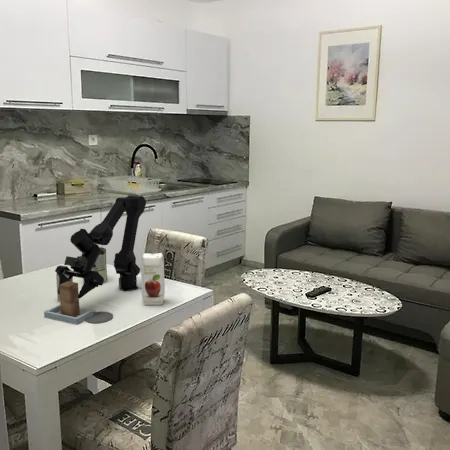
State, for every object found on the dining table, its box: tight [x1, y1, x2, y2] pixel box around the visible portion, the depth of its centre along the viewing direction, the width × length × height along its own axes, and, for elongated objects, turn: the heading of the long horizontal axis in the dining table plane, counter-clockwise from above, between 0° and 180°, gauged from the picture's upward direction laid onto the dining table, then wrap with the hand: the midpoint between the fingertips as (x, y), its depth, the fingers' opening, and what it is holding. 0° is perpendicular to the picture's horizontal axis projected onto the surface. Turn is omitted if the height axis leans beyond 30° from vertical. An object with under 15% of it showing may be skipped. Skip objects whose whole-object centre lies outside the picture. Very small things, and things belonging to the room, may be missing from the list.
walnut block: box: [59, 281, 81, 318], centre depth 173 cm, size 4×4×12 cm
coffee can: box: [81, 246, 108, 284], centre depth 211 cm, size 10×10×14 cm
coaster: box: [84, 311, 114, 324], centre depth 172 cm, size 10×10×1 cm
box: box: [55, 273, 74, 302], centre depth 189 cm, size 5×4×11 cm
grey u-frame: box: [43, 304, 94, 325], centre depth 173 cm, size 8×15×2 cm, turn 65°
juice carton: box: [140, 252, 166, 306], centre depth 186 cm, size 8×9×19 cm
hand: (68, 296), depth 172 cm, fingers open, 9 cm apart
